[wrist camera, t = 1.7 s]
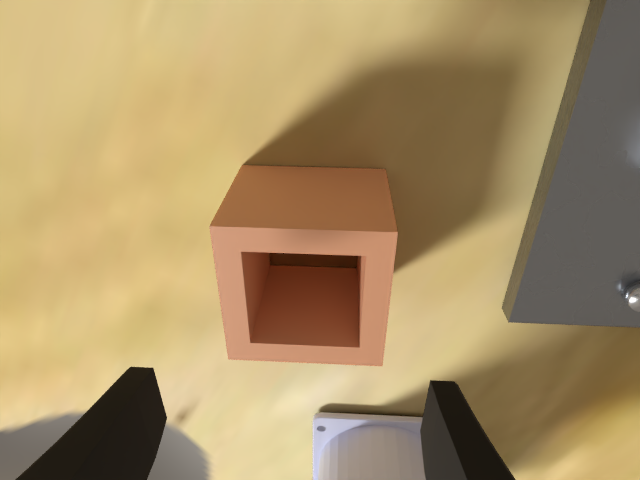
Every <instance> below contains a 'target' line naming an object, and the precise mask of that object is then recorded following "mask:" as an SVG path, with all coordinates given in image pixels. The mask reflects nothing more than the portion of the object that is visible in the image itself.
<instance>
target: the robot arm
mask: <svg viewBox="0 0 640 480" xmlns="http://www.w3.org/2000/svg"><path fill="white" fill-rule="evenodd" d="M166 420H167V417H166V413H165V409H164V406H163V402H162V398H161V395H160V391H159V387H158V384H157V380H156V376H155V373H154V369H153V368H144V367H130V368H129V369H128V370H127V371H126V372H125V373H124V374H123V375H122V376H121V377H120V378H119V379H118V380H117V381H116V382H115V383H114V384H113V385H112V386H111V387H110V388H109V389H108V390H107V391H106V392H105V393H104V394H103V395H102V397H101V398H100V399H99V400H98V401H97V402H96V403H95V404H94V405H93V406H92V407H91V408H90V409H89V410H88V411H87V412H86V413H85V414H84V415H83V416H82V417H81V418H80V419H79V420H78V421H77V422H76V423H75V424H74V425H73V426H72V427H71V428H70V429H69V430H68V431H67V432H66V433H65V434H64V435H63V436H62V437H61V438H60V439H59V440H58V441H57V442H56V443H55V444H54V445H53V446H52V447H50V448H49V449H48V450H47V451H46V452H45V453H44V454H43V455H42V456H41V457H40V458H39V459H38V460H37V461H35V462H34V463H33V464H32V465H31V466H30V467H29V468H28V469H27V470H26V471H24V472H23V473H22V474H21V475H20V476H19V477H18V478H17V479H16V480H147V478H148V475H149V473H150V470H151V468H152V465H153V463H154V460H155V458H156V454H157V451H158V448H159V444H160V441H161V438H162V434H163V430H164V427H165V423H166ZM313 480H515V478H514V477H513V475H512V474H511V472H510V471H509V469H508V468H507V466H506V465H505V463H504V462H503V460H502V459H501V457H500V456H499V454H498V453H497V451H496V449H495V448H494V446H493V445H492V443H491V442H490V440H489V438H488V437H487V435H486V434H485V432H484V430H483V429H482V427H481V425H480V424H479V422H478V420H477V419H476V417H475V415H474V413H473V412H472V410H471V408H470V406H469V405H468V403H467V401H466V399H465V397H464V395H463V394H462V392H461V390H460V388H459V386H458V385H457V384H456V383H455V382H454V381H432V380H430V384H429V389H428V394H427V399H426V404H425V409H424V414H423V417H409V416H389V415H368V414H348V413H327V412H319V413H316V414H315V415H314V416H313Z"/></svg>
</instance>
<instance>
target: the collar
mask: <svg viewBox="0 0 640 480" xmlns="http://www.w3.org/2000/svg"><path fill="white" fill-rule="evenodd" d="M210 234H211V241H212V248H213V255H214V262H215V269H216V276H217V283H218V290H219V297H220V304H221V311H222V318H223V325H224V332H225V339H226V346H227V353H228V359H231V360H254V361H276V362H299V363H321V364H344V365H366V366H382V365H383V357H384V348H385V339H386V331H387V322H388V313H389V305H390V296H391V287H392V279H393V270H394V262H395V253H396V244H397V236H398V230H397V225H396V220H395V215H394V210H393V205H392V199H391V194H390V189H389V184H388V179H387V174H386V169H370V168H333V167H295V166H258V165H242V166H241V168H240V170H239V172H238V173H237V175H236V177H235V179H234V181H233V183H232V185H231V187H230V189H229V190H228V192H227V194H226V196H225V198H224V200H223V202H222V204H221V205H220V207H219V209H218V211H217V213H216V215H215V217H214V219H213V221H212V222H211V224H210ZM270 253H295V254H324V255H353V256H358V257H357V268H336V267H308V266H280V265H270Z"/></svg>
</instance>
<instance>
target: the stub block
mask: <svg viewBox="0 0 640 480" xmlns="http://www.w3.org/2000/svg"><path fill="white" fill-rule="evenodd" d="M502 309H503V312H504V314H505V316H506V318H507V320H508V322H516V323H541V324H566V325H591V326H616V327H640V0H591V1H590V4H589V8H588V11H587V15H586V18H585V22H584V25H583V29H582V32H581V36H580V39H579V43H578V46H577V49H576V53H575V56H574V60H573V63H572V67H571V70H570V74H569V77H568V81H567V84H566V88H565V91H564V94H563V98H562V101H561V105H560V108H559V112H558V115H557V119H556V122H555V126H554V129H553V133H552V136H551V139H550V143H549V146H548V150H547V153H546V157H545V160H544V164H543V167H542V171H541V174H540V178H539V181H538V184H537V188H536V191H535V195H534V198H533V202H532V205H531V209H530V212H529V216H528V219H527V223H526V226H525V230H524V233H523V236H522V240H521V243H520V247H519V250H518V254H517V257H516V261H515V264H514V268H513V271H512V275H511V278H510V281H509V285H508V288H507V292H506V295H505V299H504V302H503V306H502Z"/></svg>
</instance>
